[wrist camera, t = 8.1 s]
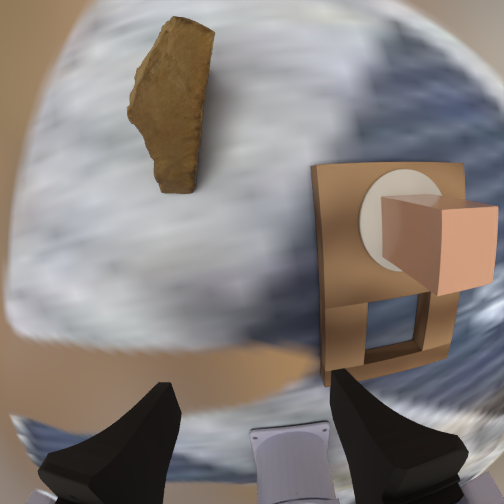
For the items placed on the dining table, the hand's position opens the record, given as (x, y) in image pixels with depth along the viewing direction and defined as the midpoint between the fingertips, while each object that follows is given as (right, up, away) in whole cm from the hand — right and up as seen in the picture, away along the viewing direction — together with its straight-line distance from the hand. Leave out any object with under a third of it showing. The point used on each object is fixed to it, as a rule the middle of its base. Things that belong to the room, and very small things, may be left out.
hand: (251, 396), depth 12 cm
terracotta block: (+10, +8, +6) cm, 14 cm away
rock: (-5, +16, +7) cm, 18 cm away
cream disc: (+10, +9, +6) cm, 15 cm away
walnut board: (+11, +5, +9) cm, 15 cm away
